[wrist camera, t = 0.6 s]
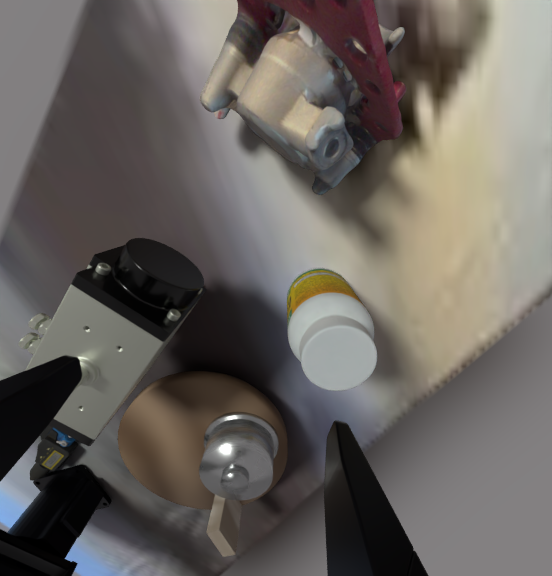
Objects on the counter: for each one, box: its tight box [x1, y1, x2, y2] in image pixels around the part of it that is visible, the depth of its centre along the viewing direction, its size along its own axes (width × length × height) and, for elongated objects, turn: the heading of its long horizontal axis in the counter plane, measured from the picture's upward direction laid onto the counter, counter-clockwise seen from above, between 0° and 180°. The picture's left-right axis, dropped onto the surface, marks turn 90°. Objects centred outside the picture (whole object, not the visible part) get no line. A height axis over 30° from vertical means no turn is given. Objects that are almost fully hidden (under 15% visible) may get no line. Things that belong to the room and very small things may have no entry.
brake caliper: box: [200, 0, 406, 195], centre depth 15 cm, size 11×11×12 cm
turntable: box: [118, 371, 288, 557], centre depth 24 cm, size 16×16×5 cm
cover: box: [199, 412, 278, 500], centre depth 23 cm, size 7×7×4 cm
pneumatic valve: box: [19, 238, 206, 446], centre depth 18 cm, size 6×12×12 cm, turn 143°
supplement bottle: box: [287, 268, 377, 391], centre depth 19 cm, size 5×5×10 cm
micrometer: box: [30, 425, 78, 480], centre depth 29 cm, size 12×2×5 cm
